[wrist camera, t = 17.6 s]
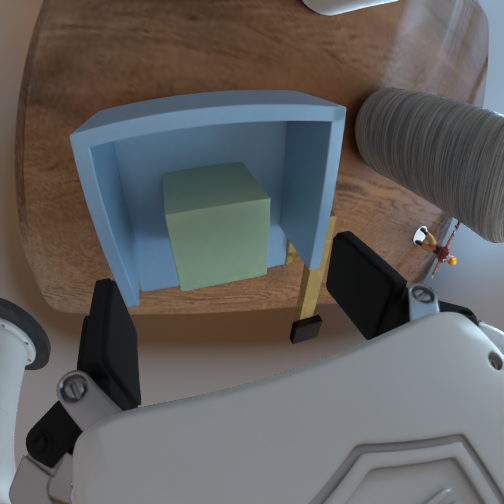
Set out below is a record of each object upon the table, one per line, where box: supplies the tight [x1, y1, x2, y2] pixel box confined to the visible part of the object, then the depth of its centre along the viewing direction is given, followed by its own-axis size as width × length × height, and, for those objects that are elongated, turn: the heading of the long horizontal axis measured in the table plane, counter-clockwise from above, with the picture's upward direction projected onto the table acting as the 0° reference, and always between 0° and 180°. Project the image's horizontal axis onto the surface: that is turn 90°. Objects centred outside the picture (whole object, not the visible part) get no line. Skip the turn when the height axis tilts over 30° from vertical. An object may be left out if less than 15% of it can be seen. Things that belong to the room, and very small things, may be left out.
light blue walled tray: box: [70, 90, 346, 344], centre depth 20 cm, size 17×26×6 cm, turn 1°
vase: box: [354, 88, 504, 243], centre depth 22 cm, size 12×12×23 cm
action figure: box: [414, 221, 461, 278], centre depth 40 cm, size 12×3×9 cm, turn 167°
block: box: [163, 162, 271, 291], centre depth 16 cm, size 5×5×5 cm
